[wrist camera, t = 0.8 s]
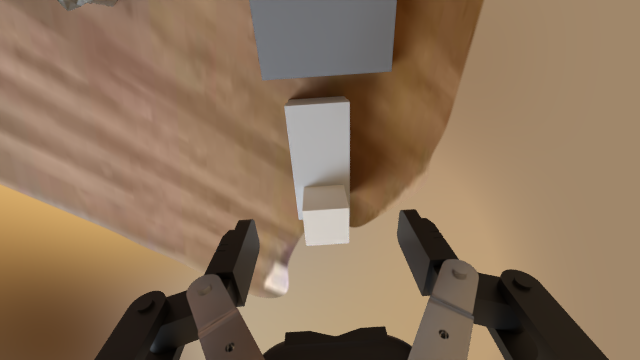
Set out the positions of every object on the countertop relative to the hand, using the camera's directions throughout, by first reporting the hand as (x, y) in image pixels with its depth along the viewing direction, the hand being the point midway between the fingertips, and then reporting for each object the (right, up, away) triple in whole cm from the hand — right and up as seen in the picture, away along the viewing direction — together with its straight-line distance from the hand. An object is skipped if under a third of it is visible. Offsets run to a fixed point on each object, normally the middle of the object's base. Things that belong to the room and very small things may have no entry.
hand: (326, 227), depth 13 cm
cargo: (0, 0, +12) cm, 12 cm away
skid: (0, +6, +13) cm, 14 cm away
